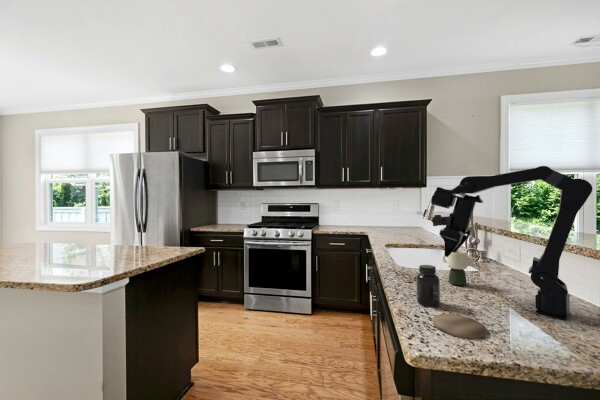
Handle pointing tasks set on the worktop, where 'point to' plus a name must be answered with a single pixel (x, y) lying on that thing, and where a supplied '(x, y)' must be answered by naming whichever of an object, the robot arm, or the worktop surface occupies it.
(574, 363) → the worktop surface
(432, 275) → the supplement bottle
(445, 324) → the walnut trivet
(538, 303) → the robot arm
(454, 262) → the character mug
